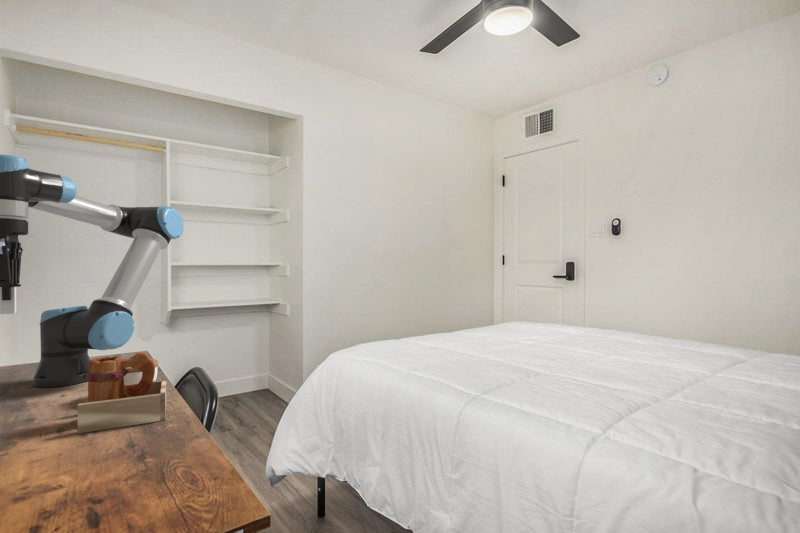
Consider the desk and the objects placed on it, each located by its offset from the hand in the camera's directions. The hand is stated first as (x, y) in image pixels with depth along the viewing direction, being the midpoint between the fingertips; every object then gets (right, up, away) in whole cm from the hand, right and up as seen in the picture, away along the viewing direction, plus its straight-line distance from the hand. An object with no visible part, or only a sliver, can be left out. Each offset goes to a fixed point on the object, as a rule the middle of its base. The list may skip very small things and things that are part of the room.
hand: (8, 313), depth 105 cm
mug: (+30, -25, -4) cm, 39 cm away
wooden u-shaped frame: (+31, -24, -4) cm, 40 cm away
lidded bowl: (+23, -25, +12) cm, 36 cm away
